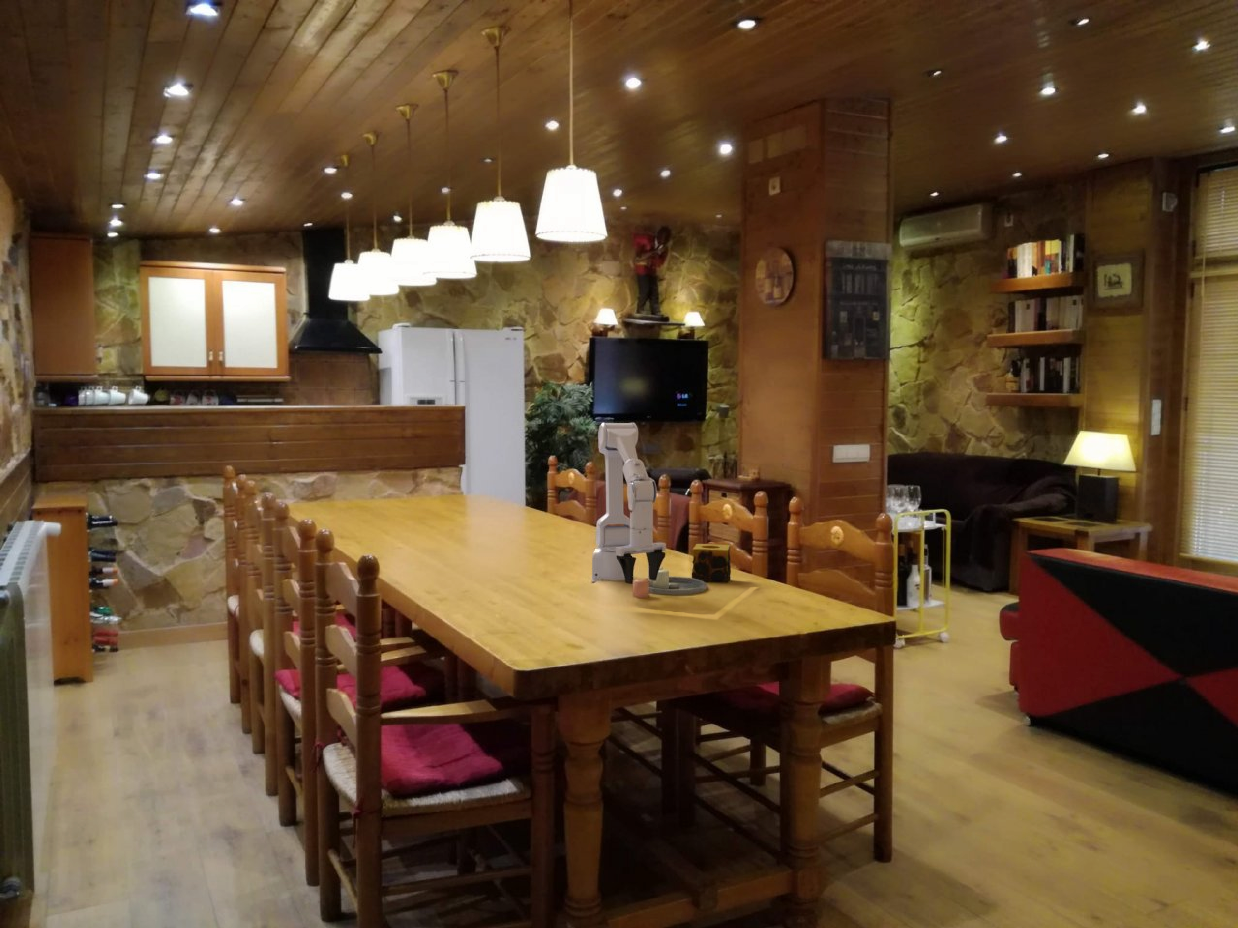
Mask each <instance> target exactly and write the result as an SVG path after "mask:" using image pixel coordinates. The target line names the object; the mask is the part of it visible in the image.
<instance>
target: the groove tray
mask: <svg viewBox="0 0 1238 928" xmlns="http://www.w3.org/2000/svg"><path fill="white" fill-rule="evenodd" d="M645 579H646V580H648V577H647V578H645ZM707 588H708V584H707V582H704V581H702V580H698V579H694V578H692V577H684V576H669V589H659V588H653V587H649V594H654V595H655V594H656V595H664V596H685V595H686V596H688V595H695V594H700V593H703V592H704V591H706V590H707Z"/></svg>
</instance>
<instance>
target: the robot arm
mask: <svg viewBox="0 0 1238 928" xmlns="http://www.w3.org/2000/svg"><path fill="white" fill-rule="evenodd" d="M597 433H598V434H597V439H598V442H597V443H598V451H599V452H598V453H601V454H603V455H604V461H605V511H606V512H605V514H604V515H602V516H601V517H600V518H598V520H597V521H596V528H595V529H596V530H595V534H594V535H595V544H596V546H597V548H595V550H594V551H593V553H592V557H591V558H592V559H591V580H590V582H591V583H596V582H598V581H601V580H604V581H605V580H606V581H613V582H614V581H617V582H618V581H624V582H625V584H629V585H633V580H634V569H635V564H636V560H637V558H636V556H635V557H634V556H633V555H636V554H638V555H639V554H643V553H646V559H647V564H648V567H649V579H650V580H654V581H655V580H656V579H657V575H658V571H659V568H660V567H661V566H662V562H663V561H664V560H665V558H666V555H667V553H666V551H667V550H666V549H667V543H666V542H653V541H654V540H653V539H654V538H653V536H654V535H653V534H654V533H653V532H654V529H653V527H654V503H656V500H657V493H658V492H657V485H656V481H655V480H654V479H653V478H652V477H649V475H648V473H647V469H646V466H645V464H644V462H643V461H642V460H641V459H640V458H639V459H638V454H637V449H636V446H637V443H638V440H639V428H638V426H637V425H636V423H635V422H628V423H626V422H625V423H624V422H623V423H621V422H619V423H617V422H611V423H608V422H607V423H606V422H602V423H601V424H600V425H599V427H598V432H597ZM624 479H625V482H626V485H627V487H626V497H627V505H628V510H629V517H628V516H627V515H625V514H624Z"/></svg>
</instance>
